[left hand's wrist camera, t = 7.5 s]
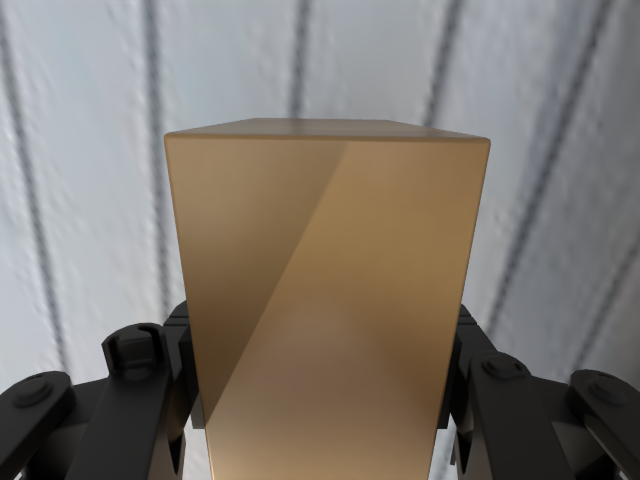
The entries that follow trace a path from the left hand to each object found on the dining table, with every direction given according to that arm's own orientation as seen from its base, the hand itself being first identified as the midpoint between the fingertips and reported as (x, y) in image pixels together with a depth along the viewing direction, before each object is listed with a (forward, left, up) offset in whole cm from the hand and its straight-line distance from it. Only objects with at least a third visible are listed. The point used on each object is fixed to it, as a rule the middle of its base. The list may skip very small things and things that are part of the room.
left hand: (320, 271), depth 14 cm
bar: (-10, +31, 0) cm, 33 cm away
